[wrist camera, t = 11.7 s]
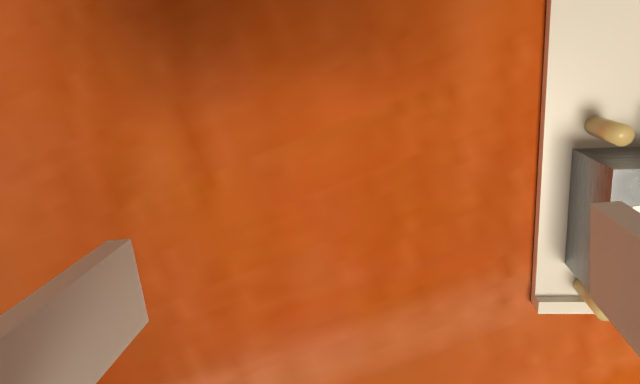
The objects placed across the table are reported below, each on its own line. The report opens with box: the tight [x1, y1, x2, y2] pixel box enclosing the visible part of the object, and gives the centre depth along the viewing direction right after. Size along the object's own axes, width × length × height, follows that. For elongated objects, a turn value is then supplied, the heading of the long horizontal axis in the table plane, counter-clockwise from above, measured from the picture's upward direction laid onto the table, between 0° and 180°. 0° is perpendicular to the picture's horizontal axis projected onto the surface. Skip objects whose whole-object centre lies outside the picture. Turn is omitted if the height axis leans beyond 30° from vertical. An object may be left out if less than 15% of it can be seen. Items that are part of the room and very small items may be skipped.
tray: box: [531, 0, 640, 321], centre depth 36 cm, size 31×11×6 cm, turn 3°
